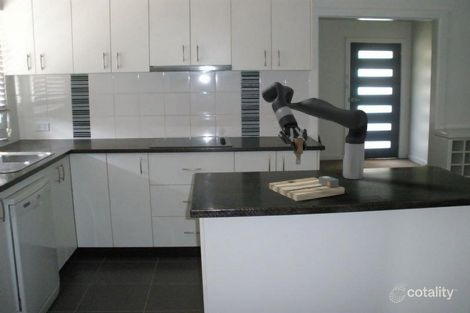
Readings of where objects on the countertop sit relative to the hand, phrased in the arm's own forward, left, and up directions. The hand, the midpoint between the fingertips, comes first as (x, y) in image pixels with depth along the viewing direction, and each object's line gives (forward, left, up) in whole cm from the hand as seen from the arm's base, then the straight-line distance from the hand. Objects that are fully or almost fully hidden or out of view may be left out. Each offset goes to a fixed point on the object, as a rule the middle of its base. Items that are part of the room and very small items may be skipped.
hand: (300, 149), depth 181 cm
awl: (-2, 0, -7) cm, 7 cm away
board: (+1, +3, -18) cm, 18 cm away
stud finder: (+5, +12, -16) cm, 20 cm away
